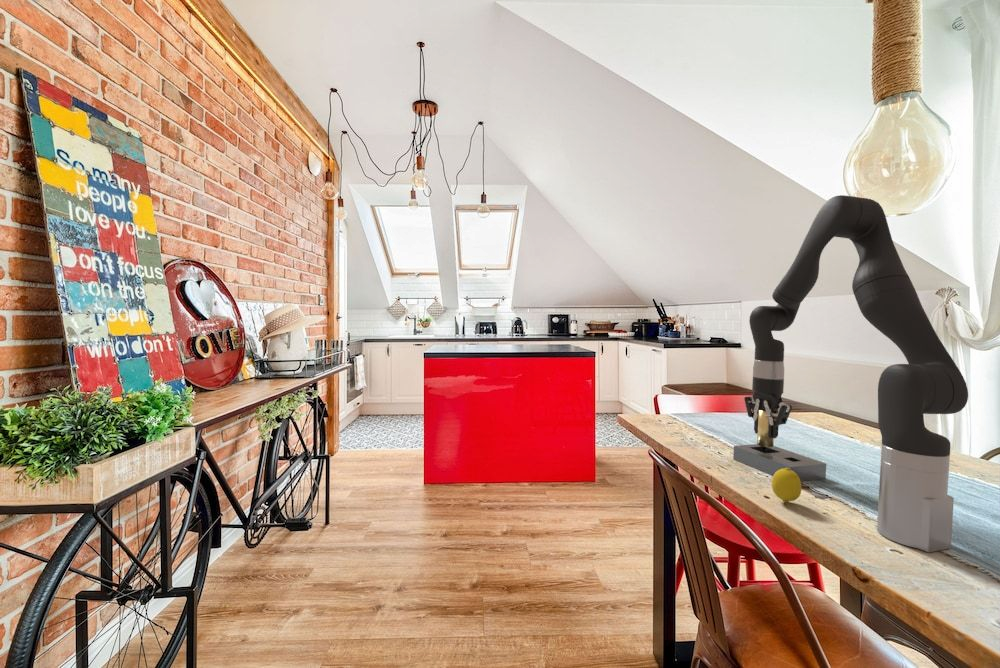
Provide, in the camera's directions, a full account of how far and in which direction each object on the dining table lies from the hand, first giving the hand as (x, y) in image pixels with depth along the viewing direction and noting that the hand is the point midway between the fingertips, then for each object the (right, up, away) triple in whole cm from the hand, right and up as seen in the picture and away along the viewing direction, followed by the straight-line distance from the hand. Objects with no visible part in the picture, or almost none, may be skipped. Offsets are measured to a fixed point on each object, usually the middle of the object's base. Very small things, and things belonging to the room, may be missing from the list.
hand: (765, 435), depth 121 cm
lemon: (-12, -9, -26) cm, 30 cm away
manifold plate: (+1, -8, -4) cm, 9 cm away
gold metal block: (0, -3, 0) cm, 3 cm away
